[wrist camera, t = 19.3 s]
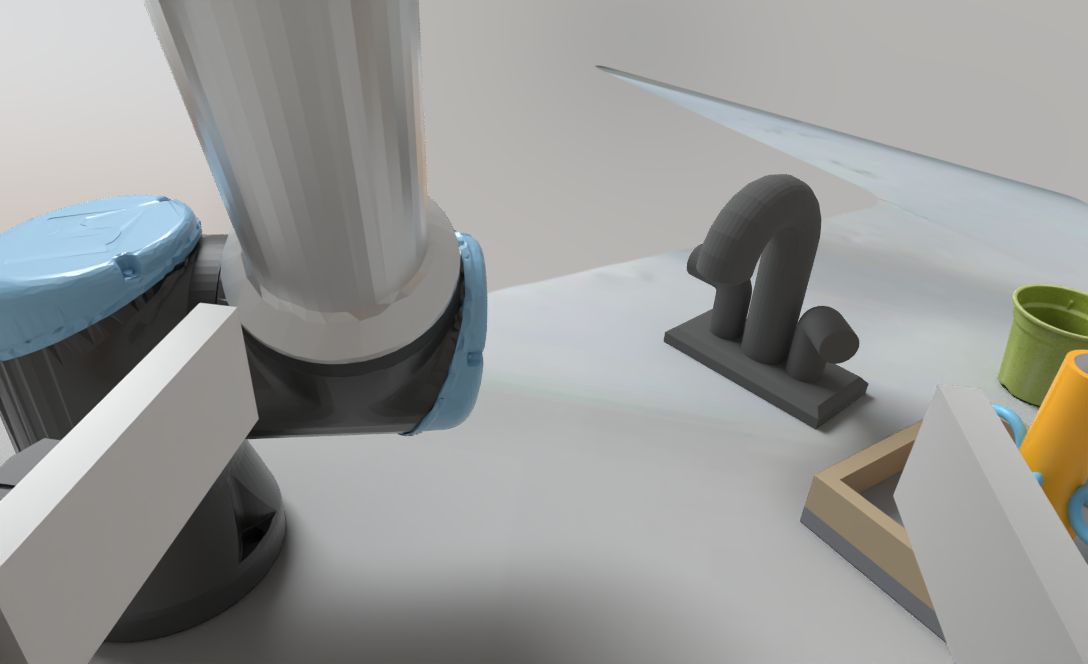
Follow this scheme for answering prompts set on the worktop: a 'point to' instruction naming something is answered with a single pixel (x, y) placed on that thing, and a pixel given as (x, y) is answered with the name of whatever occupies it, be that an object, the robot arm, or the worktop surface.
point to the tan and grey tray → (878, 520)
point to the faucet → (770, 305)
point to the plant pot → (1042, 338)
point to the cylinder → (1060, 442)
